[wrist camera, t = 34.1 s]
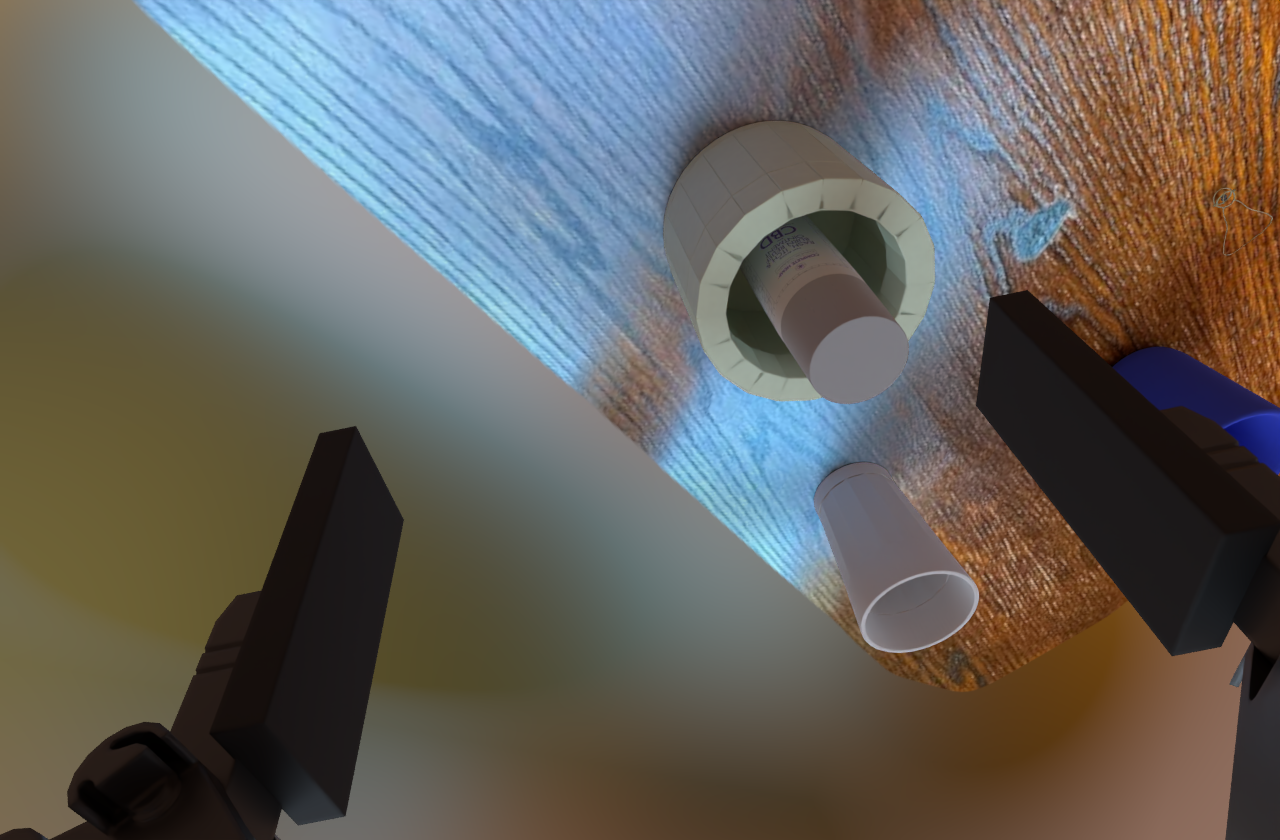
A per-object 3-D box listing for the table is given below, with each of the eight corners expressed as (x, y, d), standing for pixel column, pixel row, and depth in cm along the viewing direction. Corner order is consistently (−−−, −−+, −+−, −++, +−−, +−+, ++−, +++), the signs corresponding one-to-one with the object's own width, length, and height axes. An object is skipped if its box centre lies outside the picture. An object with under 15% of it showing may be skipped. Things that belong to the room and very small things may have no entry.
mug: (1016, 420, 58) (1098, 508, 50) (1164, 310, 54) (1279, 388, 46) (1063, 471, 62) (1146, 562, 54) (1204, 374, 58) (1317, 455, 50)
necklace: (1224, 182, 48) (1235, 187, 48) (1270, 219, 50) (1282, 223, 50) (1183, 226, 50) (1193, 231, 49) (1230, 260, 52) (1240, 266, 51)
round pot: (624, 201, 44) (650, 275, 36) (809, 74, 41) (884, 123, 33) (722, 347, 50) (764, 437, 42) (888, 246, 48) (965, 322, 40)
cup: (844, 440, 56) (914, 557, 47) (923, 472, 59) (1003, 588, 50) (783, 515, 60) (837, 638, 50) (860, 542, 63) (924, 662, 53)
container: (759, 175, 43) (858, 294, 31) (819, 217, 45) (934, 344, 33) (709, 243, 45) (784, 379, 33) (769, 280, 47) (860, 421, 35)
